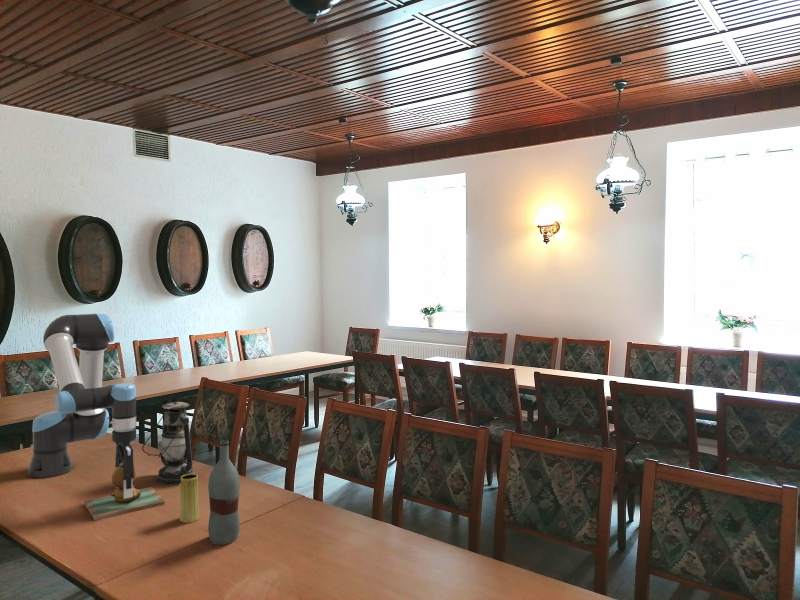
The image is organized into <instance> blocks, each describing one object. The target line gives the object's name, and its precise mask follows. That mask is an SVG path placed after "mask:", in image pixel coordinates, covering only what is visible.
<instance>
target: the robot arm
mask: <svg viewBox="0 0 800 600" xmlns="http://www.w3.org/2000/svg"><path fill="white" fill-rule="evenodd" d="M42 339H43V340H42V342H43V346H44V349H45V350H46V352H47V351H48V353H49V355H50V360H51V362H52V366H53V371H54V375H55V377H56V381H57V385H58V389H59V391H58V392H56V394H55V397H54V398H55V400H54V401H55V402H54V403H55V409H56V410H55V411H54V410H53V411H50V412H45V413H42V414H39V415H38V416H36V417H35V418H34V419H33V420H32V429H31V431H32V457H31V460H30V462H29V465H28V469H27V476H29V477H30V478H35V479H36V478H37V479H38V478H40V479H42V478H52V477H56V476H61V475H64V474H66V473H69V472H70V471H72V470H73V461H72V459H71V457H70V454H69V452H68V444H69V443H76V442H83V441H88V440H95V439H99V438H103V437H104V436H105V435H106V434H107V433H108V429H109V425H112V426H111V428H112V432H111V440H112V442H113V443H115V449H116V450H115V465H114V466H115V468H118V467H119V464H120V463H123V470H124V478H123V479H122V481H123V485H124V499H125V498H130V497H133V484H134V483H133V478H134V477H135V478H136V476H134V469H135V466H134V449H133V446H132V445H131V442H133V441H135V440H136V439H137V429H136V428H137V389H136V385H135V384H134V383H128V382H126V383H125V382H124V383H123V382H122V383H116V384H115V383H110V384H107V385H106V386H103V374H104V357H105V355H104V353H105V351H106V350H107V349H108V348H109V345H110V344H109V343H113V342H114V341H115V329H114V324H113V321H112V318H111V317H110V316H109V315H108V314H105V313H81V314H65V315H61V316H59V317H56V318H55V319H54V320H53V321H51V322H50V323H49V325H48V326H47V327H46V329H45V331H44V334H43V338H42ZM73 345H75V348H76V349H77V350H78V351H79V361H78V360H77V358H76V354H75V351H74V348H73ZM78 362H79V363H78ZM109 408H111V417H112V418H111V421H110V415H109V411H108V409H109ZM128 475H129V476H128ZM117 488H118V487H116V489H117Z"/></svg>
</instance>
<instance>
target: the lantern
mask: <svg viewBox="0 0 800 600" xmlns="http://www.w3.org/2000/svg"><path fill="white" fill-rule="evenodd" d="M189 406H190V403H187V402H183V401H173V402H168V403H165V404H162V405H161V408H163V409H164V410H166V411H163V413H162V416H161V418H160V419H159V421H158V422H157V425H156V427H155V429H154V430H153V431H152V432H151V435H149V437H148V438H147V440H146V441H145V443H143V445H142V446H141V449H142V450H141V451H142V452H144V453H145V454H146V455H148V457H150V456H153V457H158V458H160V460H161V463H162V464H163V465H164V466H163V467H161V468H160V469H159V470H158V474H157V476H156V479H155V481H156V482H157V483H158V484H161V485H179V484H180V485H181V476H183V475H186V474H195V471H194V469H193V457H192V453H193V452H196V451H197V449H196V448H192V446H191V445H192V444H191V443H192V440H191V432H190V424H189V423H190V420H189V417H188V416H187V410H186V408H188V407H189ZM162 419H163V421H162ZM161 421H162V433H161V441H160V442H159V447H160V452H159V454H152V453H151V454H150V452H149V453H148V452H147V451H145V450H144V447H145V446H146V444H147V443H148V442H149V440H150V438H151V437H152V435H153V434H154V433H155V432H156V430H157V429H158V426H159V424H160V422H161Z"/></svg>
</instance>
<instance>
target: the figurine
mask: <svg viewBox="0 0 800 600" xmlns="http://www.w3.org/2000/svg"><path fill="white" fill-rule="evenodd" d="M128 476H129V475H128ZM134 476H135V477H134V478H133V484H134V483H135V480H136V476H137V475H136V469H135V468H134ZM123 478H124V470H123V463H120V464H119V467H118V468H117V467H115V469H114V470H113V472H112V474H111V482H112V485H114V488H115V489H114V490H113V491H112V492H111V494H110V496H113V497H114V498H115V500H116V502H120V503H124V502H125V503H126V502H131V501H133V500H135V499H136V498H138V497H139V496H140V495H141V491H140V489H137V488H135V485H133V497H130V498H125V499H124V485H123V481H122V479H123ZM117 487H118V488H117Z"/></svg>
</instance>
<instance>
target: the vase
mask: <svg viewBox="0 0 800 600" xmlns="http://www.w3.org/2000/svg"><path fill="white" fill-rule="evenodd" d="M198 476H199V475H198V474H196V473H194V474H186V475H183V476H181V483H180V501H179V502H180V505H179V522H180V523H183V524H190V523H194V522H196V521H199V519H200V514H199V510H200V509H199V479H198Z"/></svg>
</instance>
